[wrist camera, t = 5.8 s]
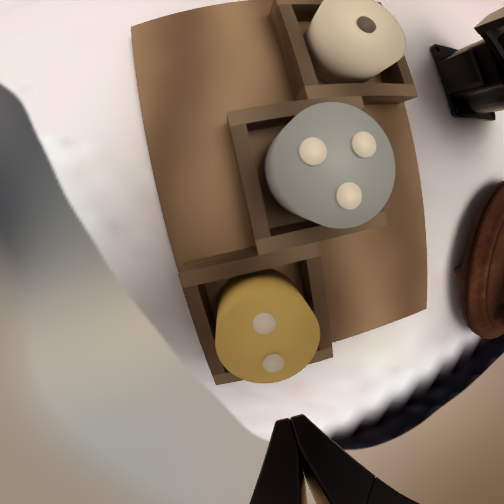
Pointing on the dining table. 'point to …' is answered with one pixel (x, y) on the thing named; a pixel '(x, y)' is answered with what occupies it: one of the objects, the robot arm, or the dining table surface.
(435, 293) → the dining table surface
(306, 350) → the mustard button
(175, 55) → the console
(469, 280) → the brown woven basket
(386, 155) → the slate button
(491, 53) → the robot arm
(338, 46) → the cream button
